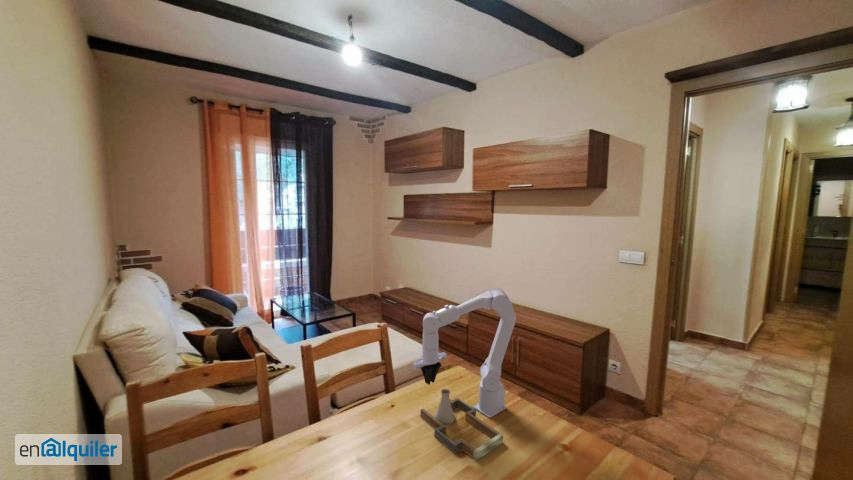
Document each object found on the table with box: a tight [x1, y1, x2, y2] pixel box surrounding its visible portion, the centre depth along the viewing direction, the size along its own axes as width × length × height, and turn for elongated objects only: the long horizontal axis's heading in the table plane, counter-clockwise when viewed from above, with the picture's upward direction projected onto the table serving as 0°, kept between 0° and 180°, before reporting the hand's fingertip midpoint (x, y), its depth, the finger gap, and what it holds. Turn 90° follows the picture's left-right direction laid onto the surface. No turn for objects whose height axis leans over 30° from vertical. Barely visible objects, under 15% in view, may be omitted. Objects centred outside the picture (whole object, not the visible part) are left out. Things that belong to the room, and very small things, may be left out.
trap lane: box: [420, 397, 504, 462], centre depth 114 cm, size 18×26×2 cm
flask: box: [434, 388, 456, 425], centre depth 119 cm, size 7×7×10 cm
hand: (429, 382), depth 125 cm, fingers closed
